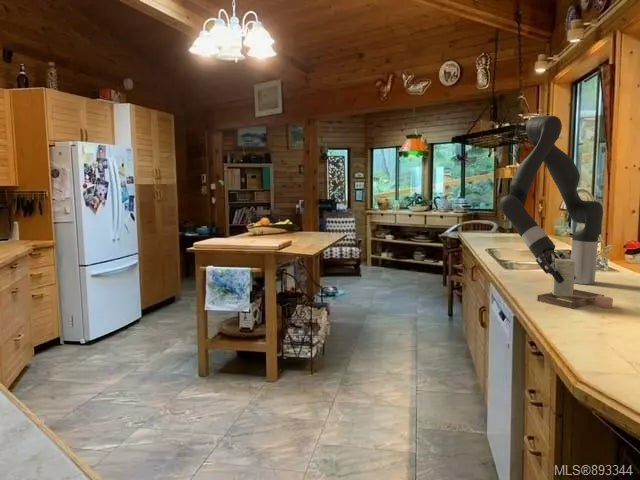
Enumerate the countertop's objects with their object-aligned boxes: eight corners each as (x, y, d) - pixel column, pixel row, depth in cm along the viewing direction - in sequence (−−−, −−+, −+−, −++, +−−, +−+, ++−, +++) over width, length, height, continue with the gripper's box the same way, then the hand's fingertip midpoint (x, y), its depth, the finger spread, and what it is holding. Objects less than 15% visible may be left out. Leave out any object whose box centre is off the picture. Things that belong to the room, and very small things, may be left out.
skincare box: (571, 294, 169) (574, 259, 167) (573, 297, 165) (576, 260, 163) (550, 292, 171) (553, 257, 169) (552, 295, 167) (555, 259, 165)
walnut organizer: (569, 293, 182) (569, 288, 182) (603, 300, 172) (604, 294, 172) (537, 300, 170) (537, 295, 170) (571, 308, 161) (572, 302, 160)
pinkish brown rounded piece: (599, 304, 168) (600, 295, 167) (614, 307, 164) (615, 298, 163) (591, 306, 165) (592, 297, 165) (607, 309, 161) (608, 300, 160)
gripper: (533, 236, 167) (564, 276, 159) (557, 234, 176) (587, 272, 168) (518, 249, 172) (547, 289, 164) (541, 247, 181) (570, 285, 173)
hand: (567, 280), depth 166 cm, fingers closed on skincare box, 7 cm apart
